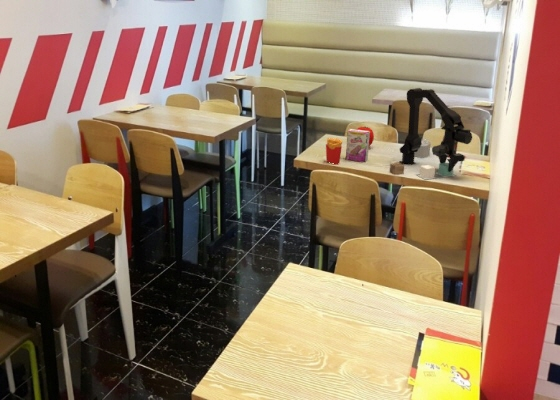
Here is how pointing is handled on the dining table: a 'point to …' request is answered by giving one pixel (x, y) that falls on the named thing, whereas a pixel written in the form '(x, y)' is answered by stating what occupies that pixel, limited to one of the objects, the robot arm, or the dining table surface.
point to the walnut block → (396, 168)
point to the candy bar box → (357, 145)
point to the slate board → (436, 176)
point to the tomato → (370, 133)
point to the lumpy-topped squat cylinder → (423, 149)
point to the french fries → (333, 150)
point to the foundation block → (427, 171)
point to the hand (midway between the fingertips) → (445, 170)
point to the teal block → (444, 169)
